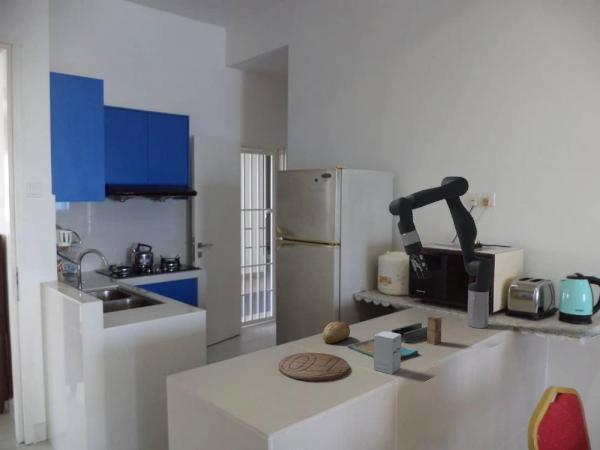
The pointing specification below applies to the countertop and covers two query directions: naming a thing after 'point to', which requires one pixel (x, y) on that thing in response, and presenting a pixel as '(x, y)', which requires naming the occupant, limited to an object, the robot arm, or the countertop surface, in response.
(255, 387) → the countertop surface
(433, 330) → the tan wooden pillar block
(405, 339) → the floor track
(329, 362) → the trivet
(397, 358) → the supplement box
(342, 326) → the bread roll
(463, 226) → the robot arm
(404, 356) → the dish towel
